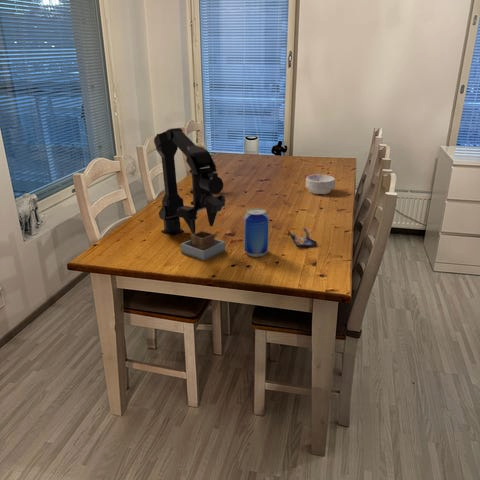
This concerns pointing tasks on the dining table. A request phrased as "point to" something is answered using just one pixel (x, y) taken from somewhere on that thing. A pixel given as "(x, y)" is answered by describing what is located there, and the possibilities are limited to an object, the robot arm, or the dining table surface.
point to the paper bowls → (320, 184)
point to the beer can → (256, 232)
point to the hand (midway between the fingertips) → (202, 229)
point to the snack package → (303, 240)
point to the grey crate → (202, 254)
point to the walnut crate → (202, 240)
